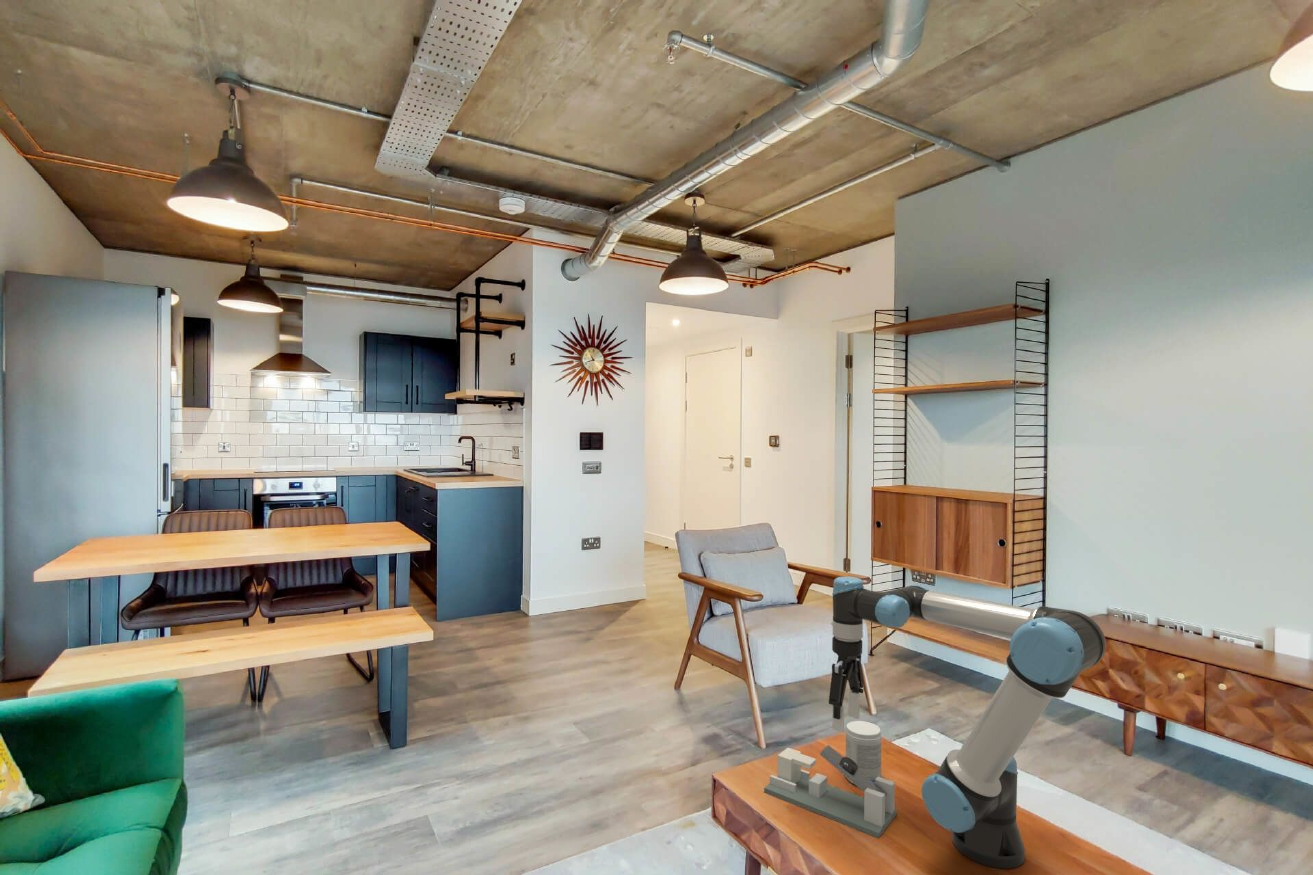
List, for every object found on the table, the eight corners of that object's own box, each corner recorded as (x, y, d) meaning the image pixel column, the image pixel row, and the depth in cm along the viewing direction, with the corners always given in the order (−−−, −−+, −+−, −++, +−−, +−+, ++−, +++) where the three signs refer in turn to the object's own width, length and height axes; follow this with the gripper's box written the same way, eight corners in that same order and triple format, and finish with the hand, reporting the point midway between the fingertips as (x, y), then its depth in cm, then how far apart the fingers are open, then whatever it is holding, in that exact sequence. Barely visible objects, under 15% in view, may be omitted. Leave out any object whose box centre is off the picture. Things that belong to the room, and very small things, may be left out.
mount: (896, 814, 164) (897, 781, 164) (878, 837, 154) (879, 802, 154) (786, 773, 183) (787, 743, 183) (764, 792, 173) (764, 760, 173)
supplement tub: (887, 780, 180) (888, 728, 181) (870, 792, 174) (871, 738, 174) (855, 767, 187) (856, 717, 188) (838, 778, 181) (839, 726, 181)
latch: (817, 785, 175) (817, 757, 175) (807, 794, 170) (808, 766, 170) (787, 774, 180) (787, 747, 181) (777, 782, 176) (777, 755, 176)
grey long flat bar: (885, 797, 163) (889, 790, 162) (879, 804, 159) (883, 797, 159) (826, 748, 173) (830, 741, 172) (819, 754, 169) (823, 747, 169)
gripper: (850, 625, 178) (848, 706, 178) (815, 644, 161) (814, 733, 161) (876, 631, 174) (875, 713, 173) (844, 650, 156) (842, 743, 156)
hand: (846, 723), depth 167 cm, fingers open, 10 cm apart
